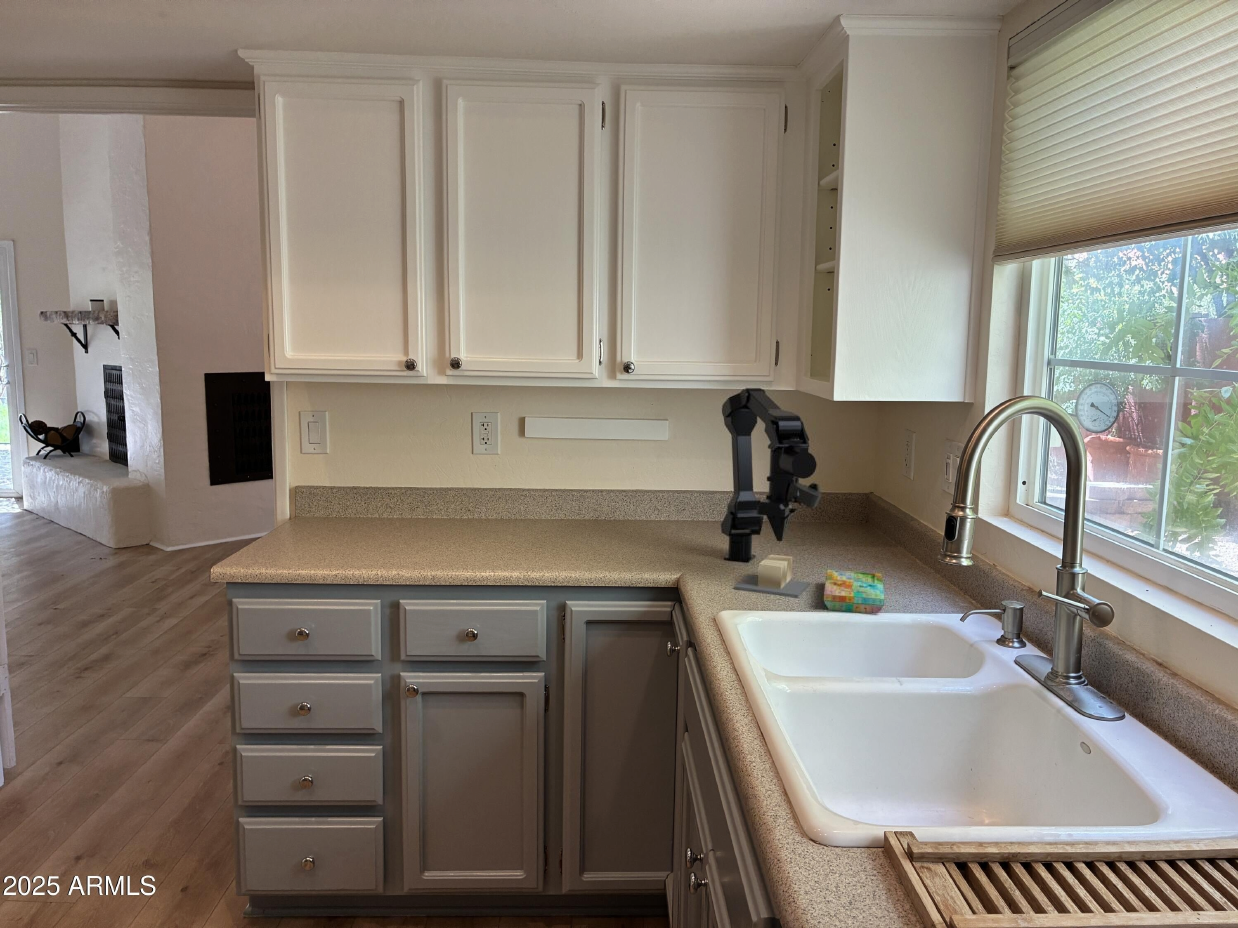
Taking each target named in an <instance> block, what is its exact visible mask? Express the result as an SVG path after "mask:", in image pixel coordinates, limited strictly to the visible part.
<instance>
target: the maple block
mask: <svg viewBox="0 0 1238 928" xmlns="http://www.w3.org/2000/svg"><path fill="white" fill-rule="evenodd" d="M793 559H794V558H793V556H790V555H789V556H788V555H781V554H780V555H779V554H772V553H771V554H769V555H768V556H766V557H765V558H764V559H763V560H762V561H761V562H759V563H758V571H757V573H758V575H757V576H758V586H759V587H766V588H774V589H781V588H782V587H783V586H784V585H785V584H786V583H787V582H788V581H789V580H792V577H793Z"/></svg>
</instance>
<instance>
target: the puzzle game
mask: <svg viewBox="0 0 1238 928" xmlns="http://www.w3.org/2000/svg"><path fill="white" fill-rule="evenodd" d="M823 602H824V604H825V605H826V607H827V608H828V610H829V611H838V612H847V613H848V612H849V613H859V612H865V613H864V614H871V613H877V614H878V613H879V612H880V611H881V610H882V609H883V608H884V606H885V593H884V583H883V574H882V573H876V572H875V573H873V572H864V571H863V572H860V571H848V570H835V569H826V575H825V583H824V591H823Z"/></svg>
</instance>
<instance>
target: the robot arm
mask: <svg viewBox="0 0 1238 928" xmlns="http://www.w3.org/2000/svg"><path fill="white" fill-rule="evenodd" d="M721 415H722V417H723V425H724V426H725V428H726V429H727V431H728V432H729V434H730V435H731V436H730V437H731V453H732V454H731V455H732V458H731V459H732V462H731V463H732V484H733V486H732V487H733V494H732V496H731V498H730V499H729V502H728V504H727V512H726V514H725V516H724V517H723V520H722V521H721V523H720V530H721V533H722V534H723V535H725V536H726V537H728V548H727V549H728V551H727V552H728V553H727V554H726V555H724V556H723V559H724V560H727V561H736V562H745V563H749V562H751V561H753V560H754V559H755V558H756V556H757V555H756V554H754V553H753V554H752V551H753V536H761V533H762V530H763V529H762V527H763V523H764V516H766V518H767V521H768V522H769V525H770V527H771V529H772V531H773V534H774V536H775V539H776V541H777V542H783V541H784V537H785V535H786V531H787V527H788V524H789V521H790V518H791V516H792V515H794V514H795V513H796V512H797V511H799V509H798V508H792V505H791V504H792V503H794V504H798V506H803V505H804V506H806V507H807V508H809V509H815V508H816V507H817V506H818V504H819V501H820V499H821V498H822V494H823V493H822V491H820V484H818V483H816V482H812V483H810V484H809V485H807V484H802V483H800V479H801V480H802V479H807V478H810V477H811V476H813V474H814V473H816V470H817V465H818V464H817V460H816V457H815V456H814V454H812V453H811V452H809V448H810V443H809V441H810V438H809V435H808V434H807V433H808V432H807V431H806V428H805V423H804V422H803V420H802V418H801V417H800V415H798V414H797V413H794V412H792V411H789V410H784V409H782V408H781V407H780V406H779V405H778V404H777V403H776V402H775V401H774V400H772V399H771V398H770V396H768V394H766V391H765V389H763V388H761V387H746V388H742V390H741V391H740V392H738V393H737V394H733V395H731V396H729V397H728V398H727V399H726V400H725V401H724V402H723V404H722V405H721ZM758 419H760V420H761V422H762V423H764V430H763V431H764V433H765V434H766V436H767V438H768V440H769V444H768V446H767V449H768V450H770V451H769V453H770V454H769V455H770V456H769V475H768V476H766V482H768V494H766V495H765V496H766V497H765V499H764V500H762V501H761V500H760V499H758V497H756V495H755V493H754V477H753V476H754V473H753V472H754V471H753V470H754V469H753V452H752V451H753V450H752V449H753V446H752V444H753V443H752V433H753V432H754V429H755V428H756V426H757V424H758Z"/></svg>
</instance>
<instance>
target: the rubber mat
mask: <svg viewBox="0 0 1238 928" xmlns="http://www.w3.org/2000/svg"><path fill="white" fill-rule="evenodd" d="M810 585H811V582H808V581H801V580H795V579H794V580H792V579H790V580H789V581H788V582H787V583H786V584H785V585H784V586H783V587H782V588H781V589H774V588H766V587H759V586H758V575H753V574H748V575H747V576H746V577H744V578H743V579H742V580H741V581H739V582H738V583H737V584H735V586H734V590H739V591H745V592H751V593H752V592H754V593H759V594H760V593H761V594H767V595H776V596H783V597H790V598H798V599H799V597H800V596H801V595H802V594H803V593H804V592H805V591H806V590H807V589H808V587H810Z"/></svg>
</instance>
